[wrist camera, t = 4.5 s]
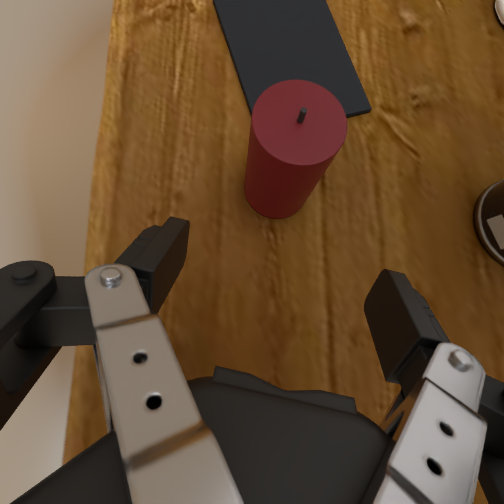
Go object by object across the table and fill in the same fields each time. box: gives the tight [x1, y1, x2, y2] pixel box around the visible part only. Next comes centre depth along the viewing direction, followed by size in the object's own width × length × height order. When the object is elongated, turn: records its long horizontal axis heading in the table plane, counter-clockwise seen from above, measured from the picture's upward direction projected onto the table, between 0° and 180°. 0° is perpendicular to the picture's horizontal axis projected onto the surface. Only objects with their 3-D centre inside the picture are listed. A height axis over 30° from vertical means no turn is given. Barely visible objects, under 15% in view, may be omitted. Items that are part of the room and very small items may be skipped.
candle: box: [244, 80, 347, 219], centre depth 22 cm, size 6×6×11 cm
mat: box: [213, 0, 371, 118], centre depth 31 cm, size 12×17×1 cm
